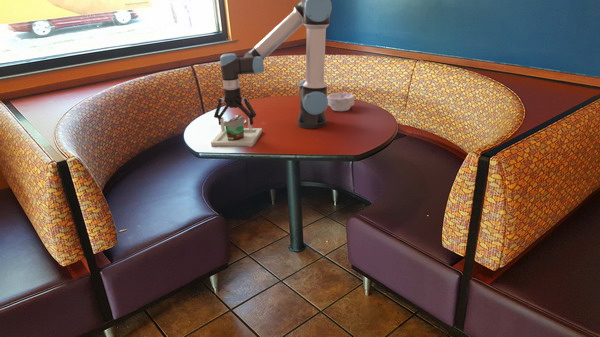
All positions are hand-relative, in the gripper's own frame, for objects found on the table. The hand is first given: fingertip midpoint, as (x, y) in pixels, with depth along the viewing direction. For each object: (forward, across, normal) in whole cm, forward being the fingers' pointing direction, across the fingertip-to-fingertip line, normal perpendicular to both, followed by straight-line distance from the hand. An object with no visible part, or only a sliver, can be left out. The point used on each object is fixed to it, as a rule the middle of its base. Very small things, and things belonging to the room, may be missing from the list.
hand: (236, 131), depth 218 cm
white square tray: (+4, 0, 0) cm, 4 cm away
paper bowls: (+4, +47, +48) cm, 67 cm away
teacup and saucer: (+5, -9, +24) cm, 26 cm away
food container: (+4, +1, 0) cm, 4 cm away
